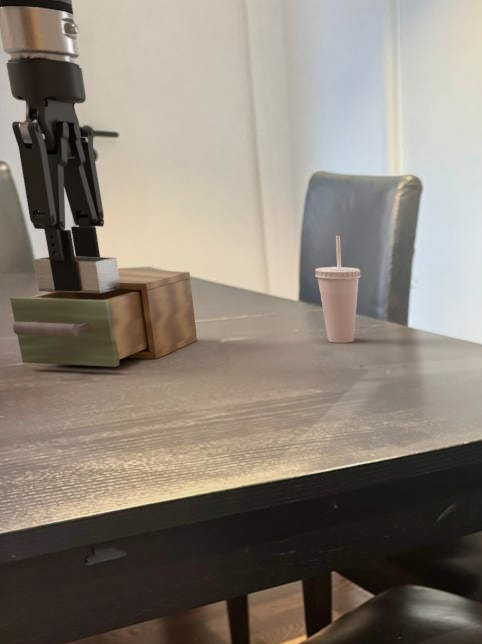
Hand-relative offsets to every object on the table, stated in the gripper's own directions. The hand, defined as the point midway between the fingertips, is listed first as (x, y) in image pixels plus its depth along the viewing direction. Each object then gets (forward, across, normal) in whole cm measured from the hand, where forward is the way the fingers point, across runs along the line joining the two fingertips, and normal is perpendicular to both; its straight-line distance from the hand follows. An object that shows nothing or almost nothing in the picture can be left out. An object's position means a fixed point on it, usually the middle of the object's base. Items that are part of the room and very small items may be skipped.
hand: (80, 287), depth 109 cm
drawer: (+8, -1, 0) cm, 8 cm away
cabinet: (+9, +12, 0) cm, 15 cm away
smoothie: (+9, +24, -26) cm, 36 cm away
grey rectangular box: (0, 0, 0) cm, 0 cm away
